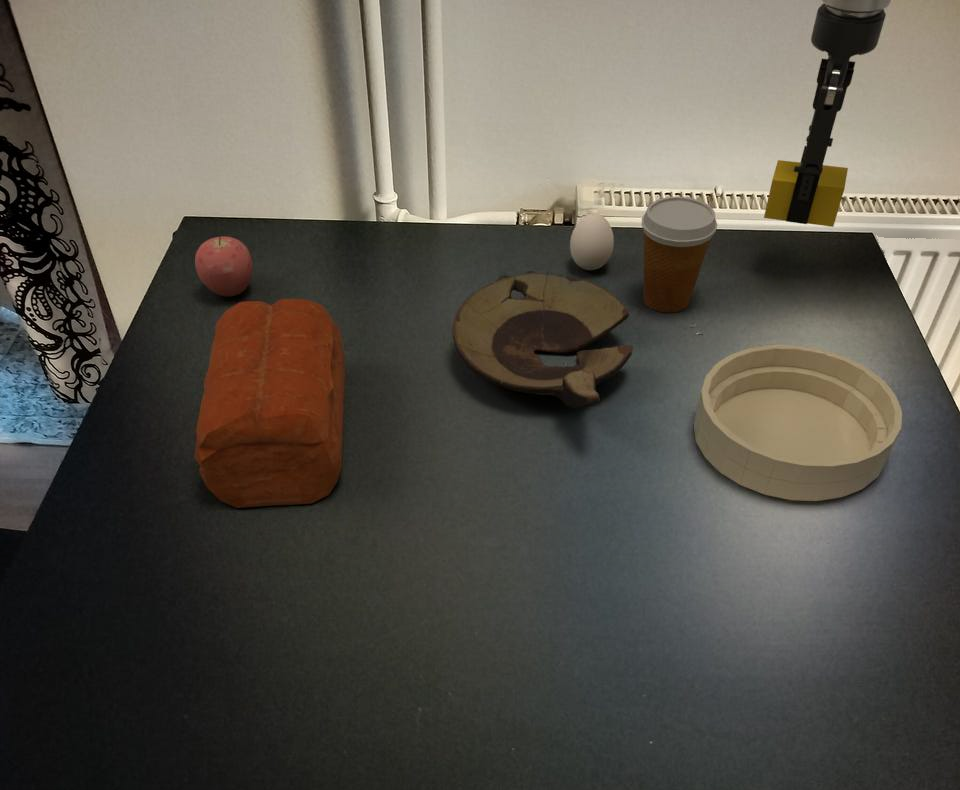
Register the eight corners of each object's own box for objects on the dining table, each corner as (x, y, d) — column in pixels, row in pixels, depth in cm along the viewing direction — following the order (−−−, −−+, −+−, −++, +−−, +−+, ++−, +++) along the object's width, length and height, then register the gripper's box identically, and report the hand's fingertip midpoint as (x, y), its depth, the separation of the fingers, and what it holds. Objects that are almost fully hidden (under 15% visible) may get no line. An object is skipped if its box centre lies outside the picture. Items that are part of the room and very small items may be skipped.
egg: (598, 283, 124) (604, 230, 118) (560, 271, 126) (564, 218, 120) (618, 264, 127) (624, 211, 121) (580, 252, 129) (585, 200, 123)
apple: (264, 279, 125) (252, 224, 119) (249, 308, 121) (235, 252, 115) (214, 276, 126) (200, 220, 120) (197, 304, 122) (180, 248, 115)
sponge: (836, 206, 120) (848, 167, 116) (833, 227, 117) (844, 188, 113) (769, 197, 122) (777, 159, 118) (763, 218, 119) (772, 179, 115)
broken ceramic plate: (629, 310, 120) (636, 256, 114) (628, 456, 101) (637, 400, 95) (465, 302, 121) (464, 248, 115) (435, 444, 103) (431, 388, 97)
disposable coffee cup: (624, 312, 119) (635, 225, 110) (639, 276, 125) (651, 190, 116) (694, 325, 117) (712, 236, 108) (707, 287, 123) (724, 200, 114)
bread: (202, 511, 96) (174, 433, 88) (226, 366, 113) (205, 288, 105) (345, 503, 97) (332, 424, 89) (349, 359, 113) (337, 281, 105)
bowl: (888, 402, 107) (905, 363, 103) (879, 523, 94) (898, 484, 90) (709, 370, 111) (718, 331, 107) (677, 481, 99) (686, 442, 94)
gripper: (826, -22, 107) (779, 175, 125) (811, 32, 96) (761, 239, 114) (891, -17, 106) (833, 182, 124) (883, 38, 95) (821, 248, 113)
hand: (799, 209), depth 119 cm, fingers closed on sponge, 6 cm apart
